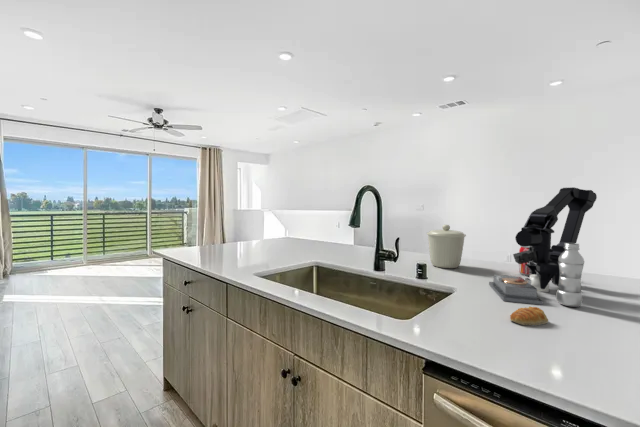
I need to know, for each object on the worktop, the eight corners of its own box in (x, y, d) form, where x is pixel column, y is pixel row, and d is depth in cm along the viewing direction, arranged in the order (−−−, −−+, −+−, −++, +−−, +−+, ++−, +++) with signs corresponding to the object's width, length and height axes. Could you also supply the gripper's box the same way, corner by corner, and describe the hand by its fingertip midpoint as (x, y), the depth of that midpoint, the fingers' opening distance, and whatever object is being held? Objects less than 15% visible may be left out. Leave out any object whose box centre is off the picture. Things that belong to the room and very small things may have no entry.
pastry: (526, 329, 77) (527, 315, 77) (502, 319, 84) (502, 306, 84) (550, 324, 81) (550, 310, 81) (525, 315, 87) (526, 302, 87)
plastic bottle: (575, 303, 97) (578, 242, 96) (586, 310, 90) (590, 245, 89) (552, 300, 99) (554, 241, 98) (560, 307, 93) (564, 244, 92)
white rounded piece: (545, 288, 113) (545, 271, 113) (551, 292, 108) (552, 275, 107) (526, 286, 115) (527, 270, 115) (532, 291, 109) (533, 273, 109)
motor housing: (521, 287, 114) (521, 272, 114) (542, 304, 95) (543, 287, 95) (488, 284, 117) (489, 270, 117) (503, 301, 98) (504, 284, 98)
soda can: (541, 277, 129) (543, 247, 129) (525, 277, 130) (526, 247, 129) (530, 273, 137) (531, 245, 136) (514, 272, 137) (516, 245, 136)
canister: (472, 270, 140) (473, 226, 139) (433, 270, 140) (434, 226, 139) (455, 262, 158) (456, 223, 157) (421, 262, 158) (422, 222, 157)
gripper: (508, 240, 122) (507, 278, 123) (524, 247, 104) (522, 291, 105) (540, 242, 119) (538, 280, 119) (562, 249, 101) (560, 294, 102)
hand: (539, 286), depth 111 cm, fingers closed on white rounded piece, 6 cm apart
